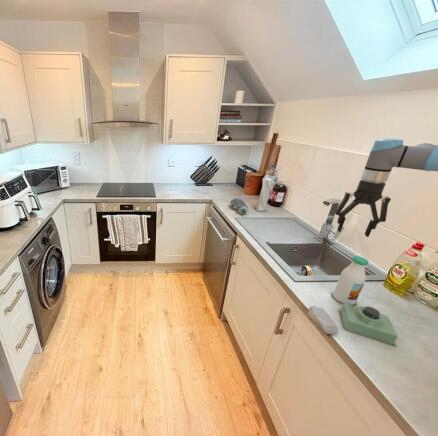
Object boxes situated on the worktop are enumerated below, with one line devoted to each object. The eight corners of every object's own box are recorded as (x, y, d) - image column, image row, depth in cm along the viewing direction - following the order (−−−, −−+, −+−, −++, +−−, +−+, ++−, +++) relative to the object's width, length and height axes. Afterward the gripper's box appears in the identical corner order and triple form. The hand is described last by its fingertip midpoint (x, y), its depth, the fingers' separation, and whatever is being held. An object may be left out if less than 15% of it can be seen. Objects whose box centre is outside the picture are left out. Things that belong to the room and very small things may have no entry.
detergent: (228, 204, 204) (233, 214, 181) (230, 196, 201) (235, 206, 178) (244, 206, 203) (251, 217, 180) (246, 198, 200) (253, 208, 177)
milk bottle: (336, 303, 97) (353, 262, 89) (329, 290, 104) (344, 252, 96) (358, 307, 95) (378, 266, 87) (350, 294, 102) (367, 255, 94)
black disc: (375, 313, 85) (378, 308, 84) (379, 321, 82) (381, 316, 81) (361, 309, 87) (363, 305, 86) (364, 316, 83) (366, 312, 83)
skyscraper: (255, 207, 198) (261, 174, 187) (265, 208, 196) (273, 175, 185) (256, 211, 191) (263, 177, 179) (267, 212, 188) (274, 177, 177)
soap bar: (329, 338, 85) (342, 332, 82) (313, 335, 85) (326, 328, 81) (317, 312, 93) (328, 305, 89) (303, 309, 92) (313, 302, 88)
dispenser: (383, 323, 87) (389, 311, 85) (392, 344, 79) (400, 331, 77) (340, 310, 93) (345, 299, 91) (345, 329, 85) (350, 316, 83)
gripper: (406, 182, 89) (382, 235, 98) (337, 175, 98) (321, 224, 107) (415, 186, 83) (388, 242, 92) (340, 179, 92) (323, 231, 101)
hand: (352, 233), depth 100 cm, fingers open, 9 cm apart
